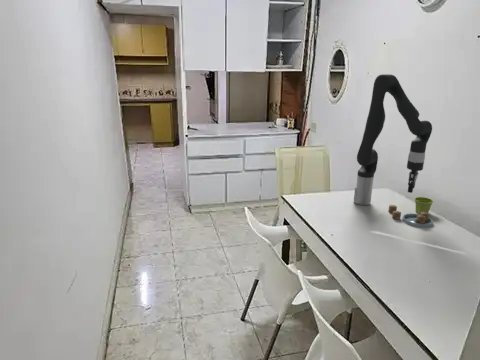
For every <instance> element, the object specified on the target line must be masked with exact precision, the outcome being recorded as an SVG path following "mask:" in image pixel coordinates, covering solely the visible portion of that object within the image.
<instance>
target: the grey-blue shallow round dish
mask: <svg viewBox="0 0 480 360" xmlns="http://www.w3.org/2000/svg"><path fill="white" fill-rule="evenodd" d="M417 215H420V214H417V213H405V214H403V215H402V217H401V218H402V221H403V223H404V224H407V225H409V226H411V227H415V228H430V227H432V226H433V224H434V223H433V222H434V221H433V219H432V218H431V217H429V219H428V223H425V224H418V223H416V220H417Z"/></svg>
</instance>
